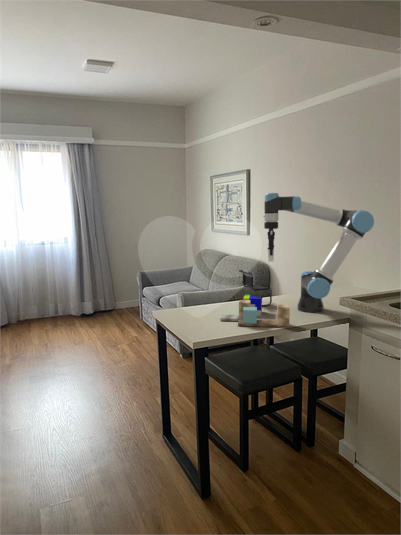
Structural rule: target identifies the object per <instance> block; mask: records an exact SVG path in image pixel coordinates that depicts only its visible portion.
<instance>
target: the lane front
mask: <svg viewBox="0 0 401 535" xmlns="http://www.w3.org/2000/svg"><path fill="white" fill-rule="evenodd" d="M290 310H291V308H290V304H277V305H276V319H275V320H273V319H257V324H247V323H243V319H239V321H237V326H238V327H263V328H264V327H267V328H268V327H271V328H278V327H283V328H285V327H287V328H289V327H290V312H291V311H290Z"/></svg>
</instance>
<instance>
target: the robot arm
mask: <svg viewBox="0 0 401 535" xmlns="http://www.w3.org/2000/svg"><path fill="white" fill-rule="evenodd" d="M263 202H264V203H263V204H264V205H263V206H264V215H263V218H264V224H263V225H264V227H263V228H264V229H266V230H267V229H268V231H267V239H268V243H267V244H268V246H267V255H268V256H267V258H268V262H274V260H275V259H274V256H275V250H274V249H275V237H276V236H275V235H276V233H275V230H277V229H279V222H278V221H279V211H286V212H290V213H294V214H297V215H300V216H301V215H303V216H306V217H309V218H312V219H313V218H314V219H318V220H322V221H325V222H330V223H334V224H335V225H336V226H338V227H341V228H342V233H341V235H339V236H340V237H339V238H338V239H337V241H336V242H335V244H334V246H333V247H332V249H331V250H330V252H328V255H327V256H326V257H325V259H324V261H323V262H322V264H321V265H320V267H319V268H317V269H316V268H315V270H314V271H313V270H312V271H302V272H301V274H300V298H299V300H298V303H297V310H298V311H301V312H304V313H305V312H306V313H320V312H324V309H325V306H324V302H323V300H322V299H324V298H326V297H327V296H328V295H329V294H330V291H331V286H332V284H333V283H334V276H335V275H336V273H337V272H338V270H339V269H340V267H341V265H342V264H343V263H344V261H345V259H346V258H347V256H349V253H350V252H351V251H352V249H353V247H354V246H355V244H356V243H357V241H359V240H361V239H363V237H364V236H365V234H366V233H368V232H370V231H371V230H372V228H374V224H375V218H374V216H373V214H372V213H370V212H369V211H367V210H364V209H359V210H357V209H355V210H349V209H343V208H340V209H339V210H338V209H335V208H331V207H327V206H324V205H323V206H322V205H320V204H315V203H311V202H307V201H302V198H301V197H300V196H299V195H298V196H297V195H295V196H294V195H293V196H280V195H279V193H278V192H267V193H265V194H264V201H263Z"/></svg>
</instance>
